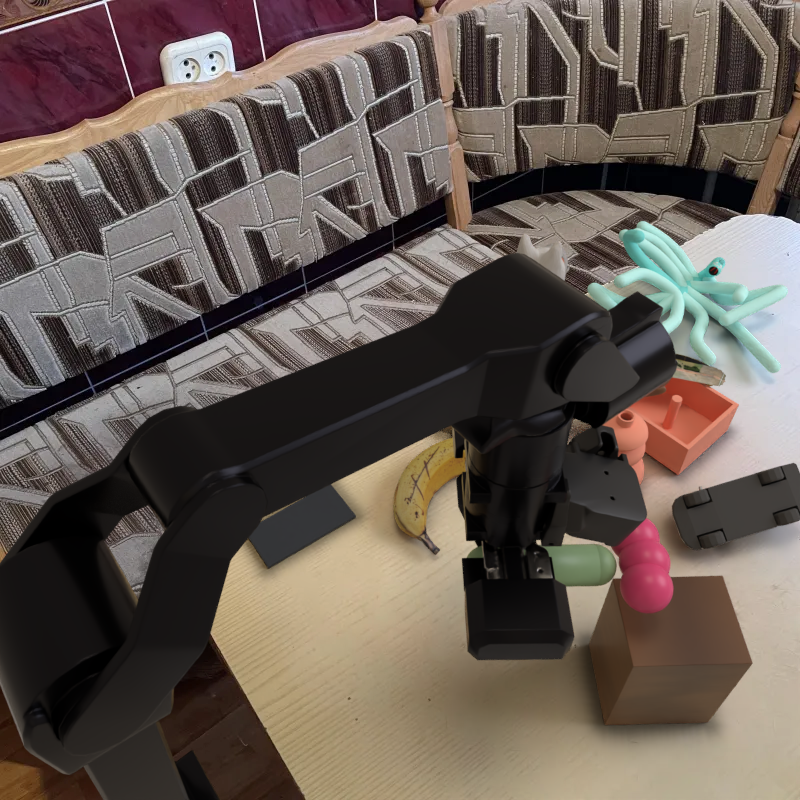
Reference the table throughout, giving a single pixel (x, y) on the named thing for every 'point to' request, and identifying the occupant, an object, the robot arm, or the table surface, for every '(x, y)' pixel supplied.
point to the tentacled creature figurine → (690, 292)
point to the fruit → (424, 488)
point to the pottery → (673, 425)
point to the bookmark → (699, 373)
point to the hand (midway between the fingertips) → (495, 582)
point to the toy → (546, 255)
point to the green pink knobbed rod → (596, 566)
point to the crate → (668, 655)
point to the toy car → (738, 507)
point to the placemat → (300, 525)
